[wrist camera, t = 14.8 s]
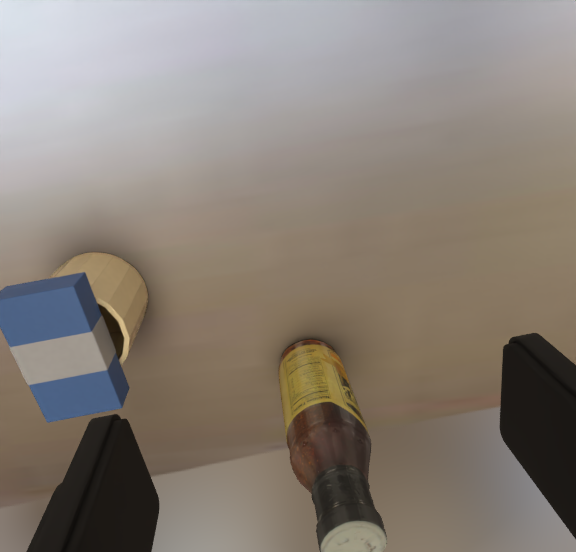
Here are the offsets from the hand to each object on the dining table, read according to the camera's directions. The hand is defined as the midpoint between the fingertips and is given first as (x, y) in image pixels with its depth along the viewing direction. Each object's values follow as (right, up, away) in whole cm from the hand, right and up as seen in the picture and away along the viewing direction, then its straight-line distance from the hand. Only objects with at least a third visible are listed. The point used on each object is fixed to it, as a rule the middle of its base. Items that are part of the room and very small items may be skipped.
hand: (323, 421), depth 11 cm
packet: (-17, -1, +21) cm, 27 cm away
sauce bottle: (+1, -5, +33) cm, 34 cm away
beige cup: (-17, +2, +28) cm, 33 cm away
